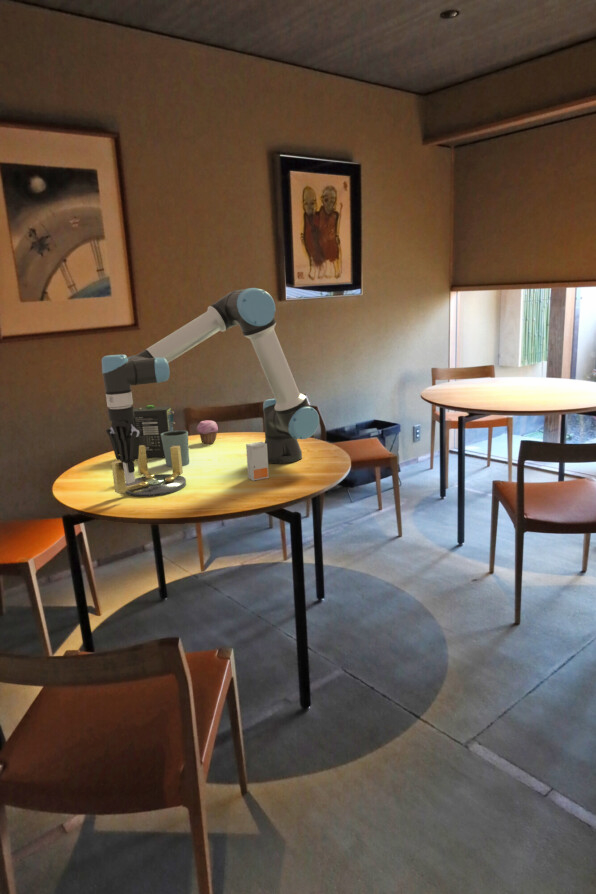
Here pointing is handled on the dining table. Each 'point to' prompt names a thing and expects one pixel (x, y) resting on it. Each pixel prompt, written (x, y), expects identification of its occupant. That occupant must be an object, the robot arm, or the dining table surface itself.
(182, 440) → the grey cup
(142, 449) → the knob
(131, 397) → the robot arm
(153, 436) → the router
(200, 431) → the cupcake
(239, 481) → the dining table surface
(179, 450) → the tan l-shaped bracket
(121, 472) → the ball-tipped golden bracket
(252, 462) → the skincare box
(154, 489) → the levelling plate
